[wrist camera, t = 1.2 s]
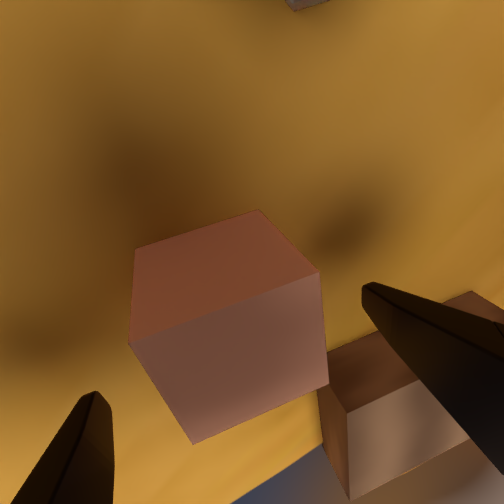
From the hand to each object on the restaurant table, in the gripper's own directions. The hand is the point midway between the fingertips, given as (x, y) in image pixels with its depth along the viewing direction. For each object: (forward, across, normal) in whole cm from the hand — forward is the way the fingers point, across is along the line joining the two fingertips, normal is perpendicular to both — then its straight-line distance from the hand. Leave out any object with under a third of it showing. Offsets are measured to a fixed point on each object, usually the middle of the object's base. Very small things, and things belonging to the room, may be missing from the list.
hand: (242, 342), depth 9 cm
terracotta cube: (+4, 0, 0) cm, 4 cm away
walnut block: (+4, -10, +14) cm, 18 cm away
